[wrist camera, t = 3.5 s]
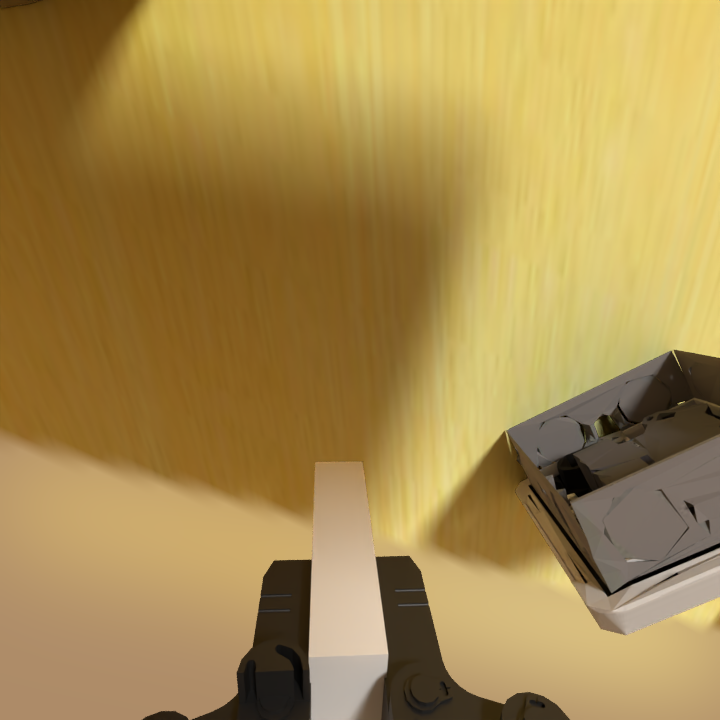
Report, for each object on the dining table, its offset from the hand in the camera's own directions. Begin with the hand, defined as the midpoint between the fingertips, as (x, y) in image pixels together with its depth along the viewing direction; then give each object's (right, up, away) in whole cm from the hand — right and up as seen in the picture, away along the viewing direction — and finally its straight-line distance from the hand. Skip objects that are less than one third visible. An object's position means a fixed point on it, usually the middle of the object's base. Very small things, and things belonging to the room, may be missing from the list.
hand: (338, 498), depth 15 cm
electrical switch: (+11, +2, +6) cm, 12 cm away
